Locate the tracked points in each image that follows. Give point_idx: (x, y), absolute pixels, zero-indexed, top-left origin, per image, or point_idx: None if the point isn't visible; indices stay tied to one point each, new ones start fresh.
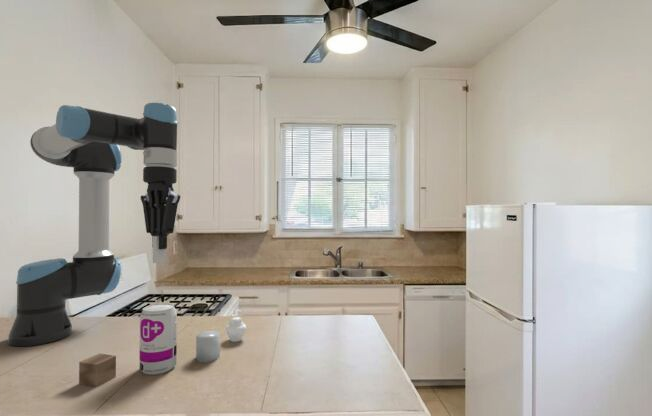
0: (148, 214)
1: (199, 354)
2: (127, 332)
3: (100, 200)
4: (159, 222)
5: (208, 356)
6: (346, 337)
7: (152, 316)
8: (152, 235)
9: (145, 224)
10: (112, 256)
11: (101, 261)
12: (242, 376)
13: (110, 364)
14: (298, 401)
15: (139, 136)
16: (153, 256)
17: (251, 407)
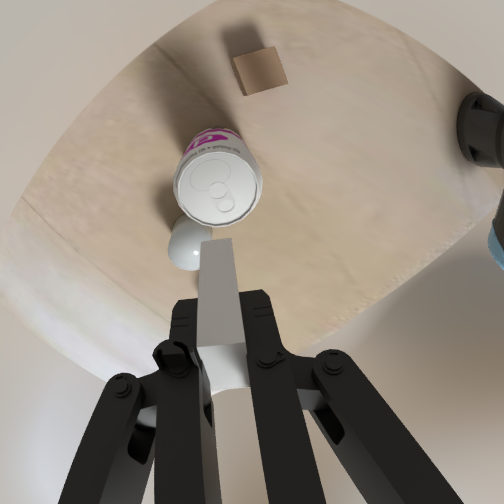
0: (387, 488)
1: (186, 218)
2: (409, 206)
3: None
4: (159, 453)
5: (174, 226)
6: (122, 367)
7: (187, 157)
8: (256, 347)
9: (382, 398)
10: None
11: None
12: (95, 227)
13: (242, 85)
14: (17, 233)
15: None
16: (225, 256)
17: (29, 191)
